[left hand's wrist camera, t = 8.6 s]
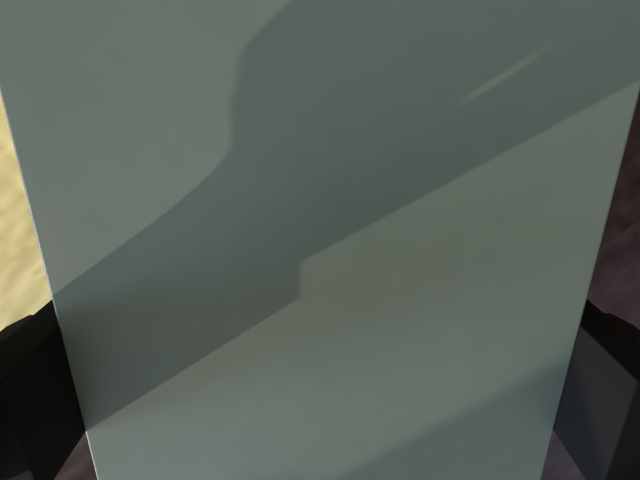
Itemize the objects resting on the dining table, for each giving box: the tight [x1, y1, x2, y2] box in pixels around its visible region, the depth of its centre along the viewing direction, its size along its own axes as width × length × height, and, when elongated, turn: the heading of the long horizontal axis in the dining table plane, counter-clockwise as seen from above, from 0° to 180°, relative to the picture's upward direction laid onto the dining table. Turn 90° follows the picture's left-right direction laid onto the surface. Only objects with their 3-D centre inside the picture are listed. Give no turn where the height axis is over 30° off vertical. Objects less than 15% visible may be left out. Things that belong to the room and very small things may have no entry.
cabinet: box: [0, 0, 640, 480], centre depth 11 cm, size 17×10×9 cm, turn 0°
